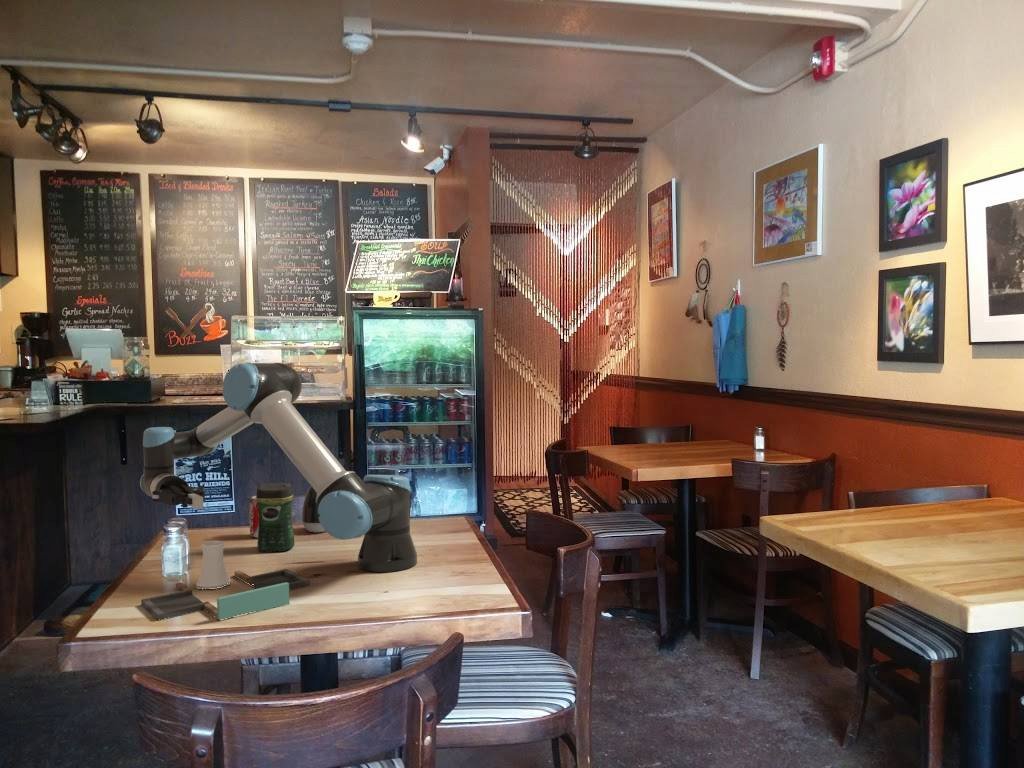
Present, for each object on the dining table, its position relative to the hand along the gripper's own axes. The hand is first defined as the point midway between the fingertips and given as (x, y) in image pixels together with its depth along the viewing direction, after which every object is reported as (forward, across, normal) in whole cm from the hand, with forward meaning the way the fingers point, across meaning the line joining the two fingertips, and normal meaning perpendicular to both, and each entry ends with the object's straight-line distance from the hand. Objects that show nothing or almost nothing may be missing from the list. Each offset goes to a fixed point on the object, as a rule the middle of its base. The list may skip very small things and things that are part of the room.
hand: (200, 503), depth 171 cm
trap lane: (+17, 0, -18) cm, 25 cm away
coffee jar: (-13, -25, -19) cm, 34 cm away
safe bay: (+31, 0, -18) cm, 36 cm away
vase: (+7, 0, -19) cm, 20 cm away
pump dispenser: (-25, -43, -19) cm, 53 cm away
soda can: (-30, -28, -19) cm, 45 cm away
